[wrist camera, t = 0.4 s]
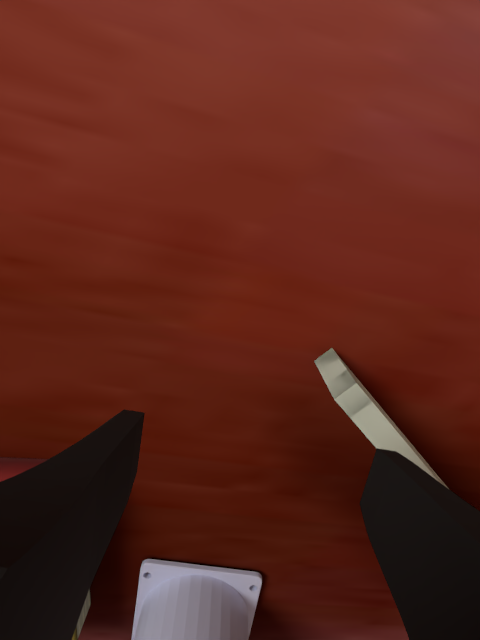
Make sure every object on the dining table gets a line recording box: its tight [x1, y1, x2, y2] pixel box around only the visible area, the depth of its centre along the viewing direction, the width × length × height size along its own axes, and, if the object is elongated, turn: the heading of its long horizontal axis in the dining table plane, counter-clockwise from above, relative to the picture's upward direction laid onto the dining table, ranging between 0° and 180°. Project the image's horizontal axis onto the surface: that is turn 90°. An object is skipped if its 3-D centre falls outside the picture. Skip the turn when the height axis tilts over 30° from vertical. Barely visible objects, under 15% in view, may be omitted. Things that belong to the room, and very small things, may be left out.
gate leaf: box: [314, 348, 449, 489], centre depth 20 cm, size 14×1×4 cm, turn 40°
